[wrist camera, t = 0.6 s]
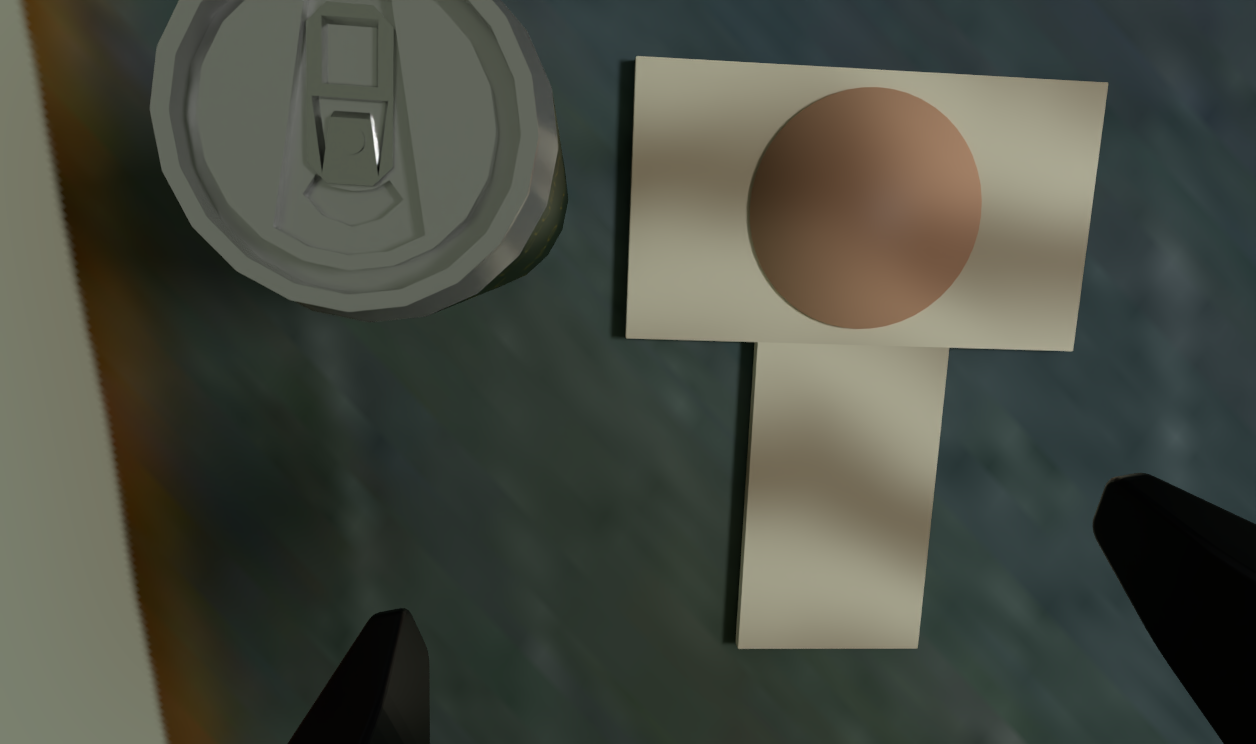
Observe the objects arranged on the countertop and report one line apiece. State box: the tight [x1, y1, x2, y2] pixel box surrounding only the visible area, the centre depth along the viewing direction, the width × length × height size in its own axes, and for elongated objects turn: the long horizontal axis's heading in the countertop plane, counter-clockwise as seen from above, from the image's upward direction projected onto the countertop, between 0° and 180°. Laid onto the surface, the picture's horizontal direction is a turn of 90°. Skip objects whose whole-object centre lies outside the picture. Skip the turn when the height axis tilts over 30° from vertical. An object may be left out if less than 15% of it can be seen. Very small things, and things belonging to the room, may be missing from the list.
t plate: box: [625, 56, 1108, 649], centre depth 23 cm, size 18×14×1 cm
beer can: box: [150, 0, 568, 322], centre depth 15 cm, size 5×5×12 cm
